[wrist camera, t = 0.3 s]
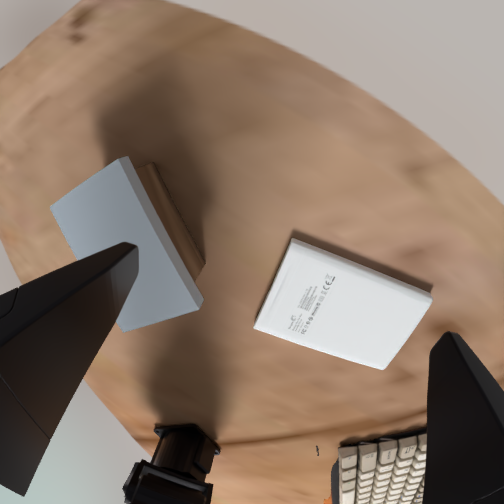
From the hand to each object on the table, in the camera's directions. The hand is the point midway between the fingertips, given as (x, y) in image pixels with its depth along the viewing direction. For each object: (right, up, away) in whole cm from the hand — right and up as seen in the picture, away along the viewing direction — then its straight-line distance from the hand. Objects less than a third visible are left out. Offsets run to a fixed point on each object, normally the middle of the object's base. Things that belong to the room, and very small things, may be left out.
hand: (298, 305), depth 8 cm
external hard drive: (+6, -3, +17) cm, 19 cm away
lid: (-9, +2, +12) cm, 15 cm away
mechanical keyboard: (+19, -36, +30) cm, 51 cm away
